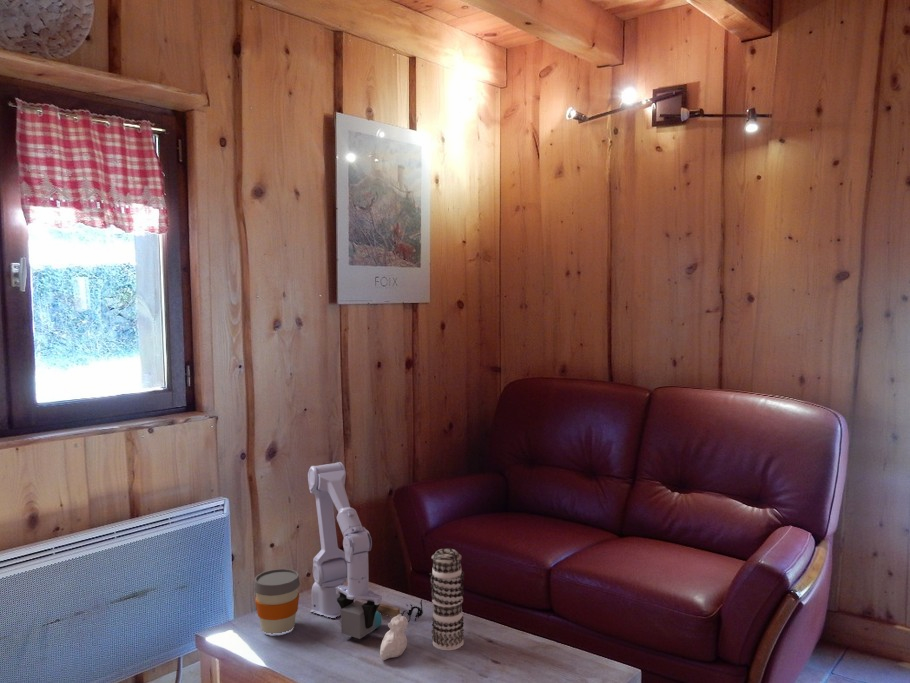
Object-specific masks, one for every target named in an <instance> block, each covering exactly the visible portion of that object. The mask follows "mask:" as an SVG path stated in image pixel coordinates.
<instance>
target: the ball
mask: <svg viewBox="0 0 910 683" xmlns="http://www.w3.org/2000/svg"><path fill="white" fill-rule="evenodd" d="M382 622H383V618H382V614H380V613H379V612H378V611H376V614H375V629H378V628H379V627H380V626H381V624H382ZM375 629H374V630H375Z"/></svg>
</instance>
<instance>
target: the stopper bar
mask: <svg viewBox="0 0 910 683" xmlns="http://www.w3.org/2000/svg"><path fill="white" fill-rule="evenodd" d="M400 610H401V609H400V608H398V607H395V606H390V605H388V604H383V603H380V605H379V607H378V609H377V611H378V612H379V613H381V615H382V614H384V615H383V616H386V615H388V616H387V617H390V616H391V617H390V618H393V617H395V616H397V615H398V614H400Z"/></svg>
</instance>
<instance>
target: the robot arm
mask: <svg viewBox="0 0 910 683" xmlns="http://www.w3.org/2000/svg"><path fill="white" fill-rule="evenodd" d="M346 477H347V472H346V467H345V465H344V463H342V462H341V461H337V462H334V463H333V462H332V463H327V464H319V465H311V466H310V468H309V469H308V472H307V481H308V482H307V483H308V489H309V492H310V494H312V495H314V498H315V505H316V514H317V523H318V531H319V539H320V550H319V552H318V553H317V554H316V555H315V556H314V557H313V560H312V576H313V579H314V582H313V584H312V586H311V592H310V593H311V597H310V598H311V610H309V613H311V612H313V611H315V612H314V613H317V614H320V615H319V616H321V615H324V616H327V617H326V618H328V617H331V618H335V619H337V618H338V617H341V609H343V608H344V607H346V606H348V605H350V604H351V603H353V602H355V600H362V601H364V603H365V604H363V605H362V608H363V611H364V615H365V626H366V628H367V629H369V628H370V627H372V626H373V621H374V617H375V614H376V611H377V609H378V607H379V605H380V604H383V603H382V596H383V595H381V594H378V593H376V592H375V591H373V590H371V589H370V586H369V580H370V578H369V552H371V550H372V547H373V542H372V537H371V534H370V532H369V530H368V529H366V527H365V526H363V525H362V523H361V520H360V518H359V515H358V512H357V511H356V509H355V508H353V507H351V506H350V505H351V504H350V501H349V498H348V495H347V491H346V488H345V483H346ZM334 506H335V509H336V510H337V512H338V513H337V515H336V519H335V510H334ZM336 521H337V524H338V526H339V529H340V532H341V534H342V537H343V540H342V546H343V550H342V549H340V548H339V546H338V545H339V544H338V536H337V529H336V528H337V527H336ZM346 582H347V585H345V583H346ZM314 613H313V614H314ZM317 614H316V615H317ZM324 616H323V617H324ZM337 616H338V617H337ZM336 617H337V618H336ZM331 618H330V619H331Z"/></svg>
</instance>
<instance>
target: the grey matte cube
mask: <svg viewBox="0 0 910 683" xmlns="http://www.w3.org/2000/svg"><path fill="white" fill-rule="evenodd" d="M365 603H366V602H363V601H359V600H354V602H353V603H351V604H350V605H348V606H346V607H344V608H343V609H341V615H340V628H341V630H340V633H341V634H342V635H345V636H349V637H353V638H355V639H359V640H360V639H362V638H364V637H366V635H368V634H370V633H372V632H373V631H374V630H375V617H374V621H373V626H372V627H370V628H369V629H367V628H366V626H365V615H364V611H363V608H362V605H363V604H365Z"/></svg>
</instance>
